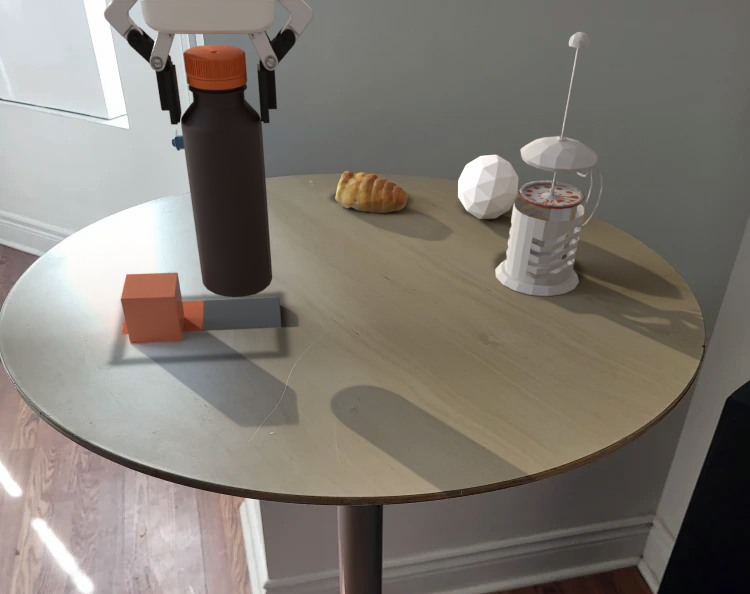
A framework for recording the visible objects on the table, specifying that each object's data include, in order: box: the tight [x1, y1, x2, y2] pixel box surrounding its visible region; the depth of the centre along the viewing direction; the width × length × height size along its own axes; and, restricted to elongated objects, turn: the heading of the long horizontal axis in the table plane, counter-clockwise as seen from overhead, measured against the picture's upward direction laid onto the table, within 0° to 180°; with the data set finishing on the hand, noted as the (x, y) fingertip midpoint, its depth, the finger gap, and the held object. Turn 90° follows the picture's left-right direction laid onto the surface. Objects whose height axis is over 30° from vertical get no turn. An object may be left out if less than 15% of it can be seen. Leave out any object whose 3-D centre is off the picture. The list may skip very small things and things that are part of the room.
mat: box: [121, 297, 283, 335], centre depth 79 cm, size 16×12×1 cm
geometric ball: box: [457, 154, 519, 220], centre depth 101 cm, size 8×8×8 cm
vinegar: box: [180, 44, 273, 298], centre depth 69 cm, size 7×7×20 cm
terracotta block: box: [120, 272, 185, 344], centre depth 77 cm, size 5×5×5 cm
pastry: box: [334, 170, 409, 214], centre depth 104 cm, size 9×7×4 cm
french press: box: [494, 31, 604, 297], centre depth 83 cm, size 10×12×25 cm
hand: (220, 117), depth 66 cm, fingers closed on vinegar, 6 cm apart
